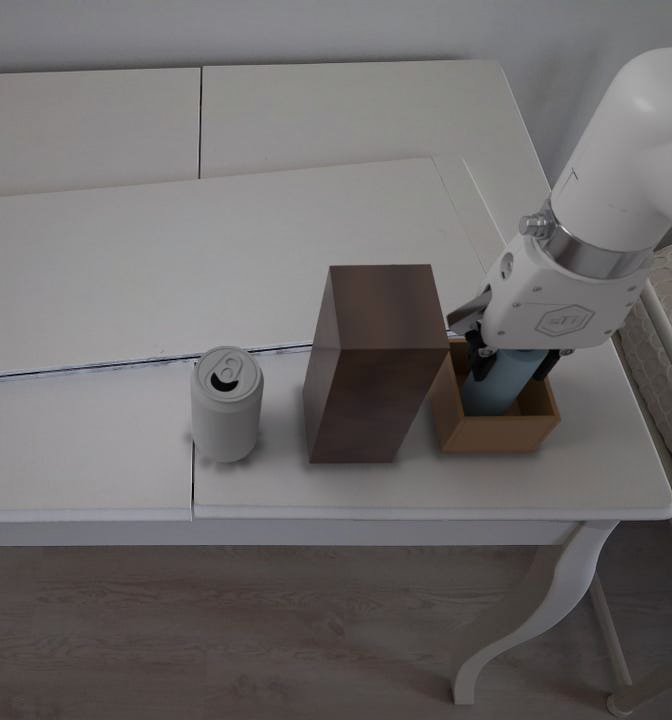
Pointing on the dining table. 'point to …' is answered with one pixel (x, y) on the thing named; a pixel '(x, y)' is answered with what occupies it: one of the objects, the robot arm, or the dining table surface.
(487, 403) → the bottle
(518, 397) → the open wooden box
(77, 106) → the dining table surface
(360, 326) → the plinth
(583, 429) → the dining table surface
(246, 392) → the beverage can
